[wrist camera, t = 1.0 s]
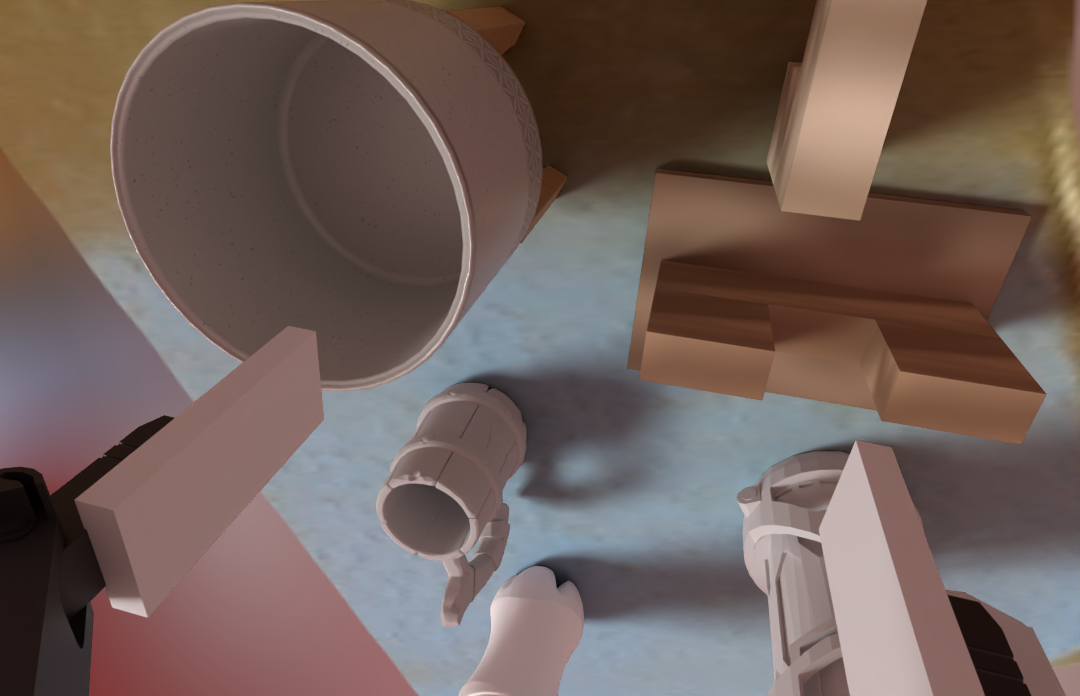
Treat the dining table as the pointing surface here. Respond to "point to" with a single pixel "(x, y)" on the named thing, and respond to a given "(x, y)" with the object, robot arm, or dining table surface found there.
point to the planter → (329, 174)
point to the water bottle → (529, 637)
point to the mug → (456, 488)
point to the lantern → (803, 588)
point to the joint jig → (833, 304)
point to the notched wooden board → (840, 104)
